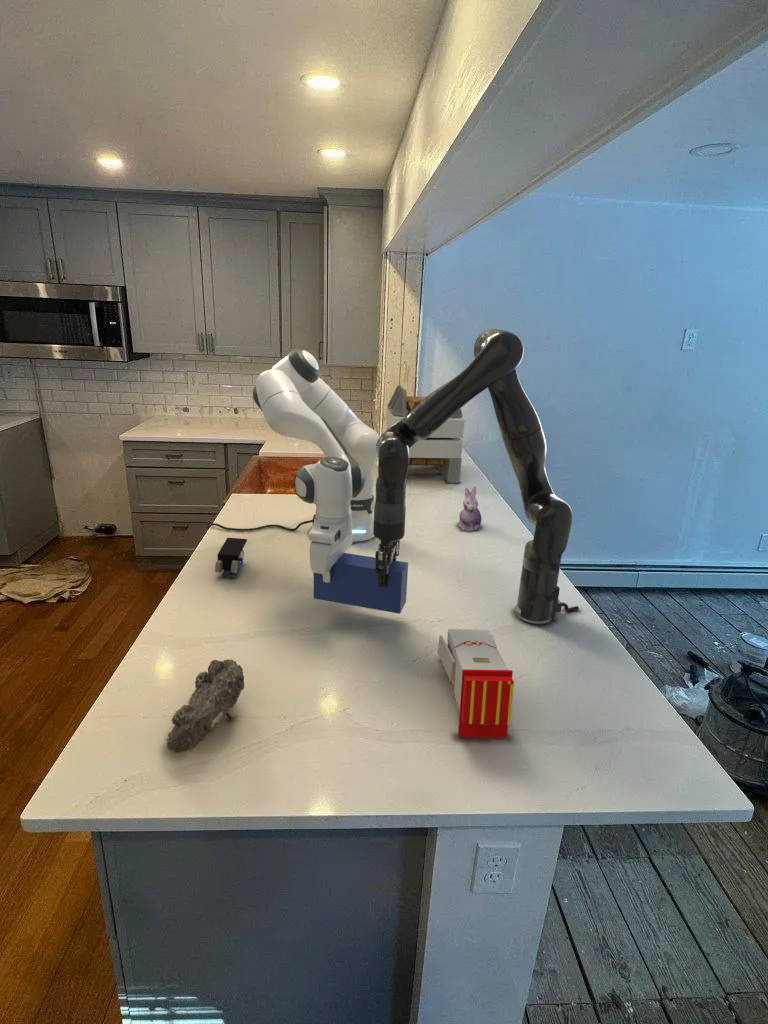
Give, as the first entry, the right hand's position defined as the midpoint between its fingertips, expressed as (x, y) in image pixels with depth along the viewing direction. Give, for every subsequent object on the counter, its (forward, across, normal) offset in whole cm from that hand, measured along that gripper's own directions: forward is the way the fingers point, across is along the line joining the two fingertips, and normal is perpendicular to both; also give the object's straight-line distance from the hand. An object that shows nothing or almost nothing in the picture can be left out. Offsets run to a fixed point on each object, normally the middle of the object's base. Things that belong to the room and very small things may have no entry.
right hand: (386, 580), depth 140 cm
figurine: (+12, +75, -11) cm, 77 cm away
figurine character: (+11, +12, +51) cm, 53 cm away
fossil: (+11, -45, +22) cm, 51 cm away
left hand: (+1, 0, +14) cm, 14 cm away
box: (+7, 0, +7) cm, 10 cm away
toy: (+12, -21, -24) cm, 34 cm away
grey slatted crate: (+12, +138, +22) cm, 141 cm away
